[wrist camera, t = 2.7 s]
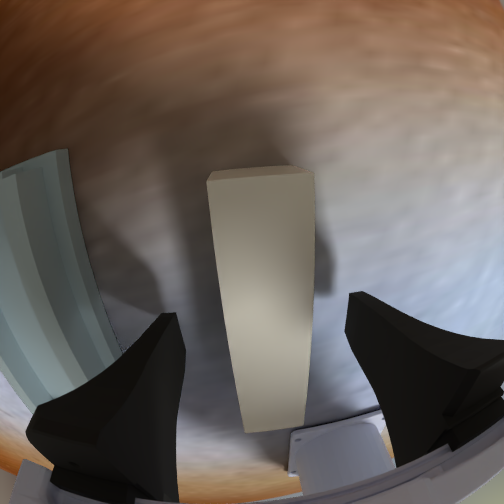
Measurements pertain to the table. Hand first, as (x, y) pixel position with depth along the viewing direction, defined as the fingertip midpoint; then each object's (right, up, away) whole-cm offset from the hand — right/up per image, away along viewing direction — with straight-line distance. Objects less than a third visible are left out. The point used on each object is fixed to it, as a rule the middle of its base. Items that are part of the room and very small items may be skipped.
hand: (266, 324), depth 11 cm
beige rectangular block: (0, +1, +2) cm, 2 cm away
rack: (-12, -1, +1) cm, 12 cm away
